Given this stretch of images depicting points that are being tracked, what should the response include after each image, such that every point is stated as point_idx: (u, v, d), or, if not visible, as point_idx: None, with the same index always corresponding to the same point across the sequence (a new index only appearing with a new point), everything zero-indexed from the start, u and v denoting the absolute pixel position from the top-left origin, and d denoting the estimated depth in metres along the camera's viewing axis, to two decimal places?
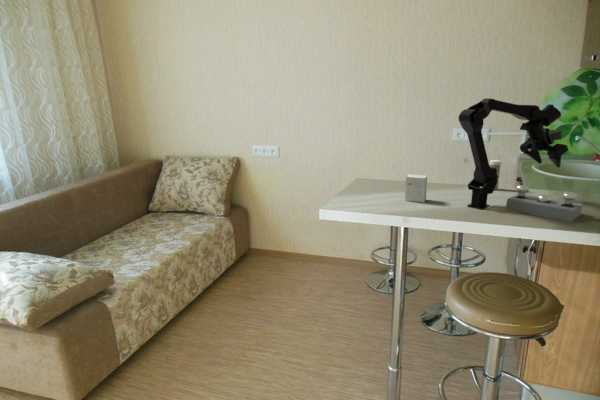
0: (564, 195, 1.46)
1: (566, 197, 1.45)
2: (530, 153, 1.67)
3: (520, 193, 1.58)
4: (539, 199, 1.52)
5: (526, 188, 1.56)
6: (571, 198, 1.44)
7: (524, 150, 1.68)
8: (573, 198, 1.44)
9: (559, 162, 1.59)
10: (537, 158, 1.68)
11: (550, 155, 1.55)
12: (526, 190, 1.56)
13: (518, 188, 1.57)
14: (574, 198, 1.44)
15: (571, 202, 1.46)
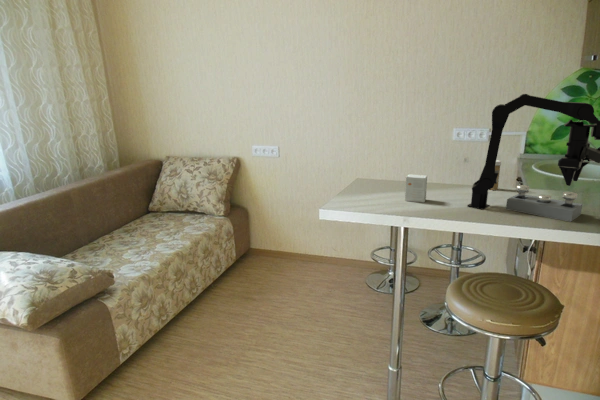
0: (564, 195, 1.46)
1: (566, 197, 1.45)
2: None
3: (520, 193, 1.58)
4: (539, 199, 1.52)
5: (526, 188, 1.56)
6: (571, 198, 1.44)
7: None
8: (573, 198, 1.44)
9: (569, 179, 1.41)
10: (575, 173, 1.48)
11: None
12: (526, 190, 1.56)
13: (518, 188, 1.57)
14: (574, 198, 1.44)
15: (571, 202, 1.46)
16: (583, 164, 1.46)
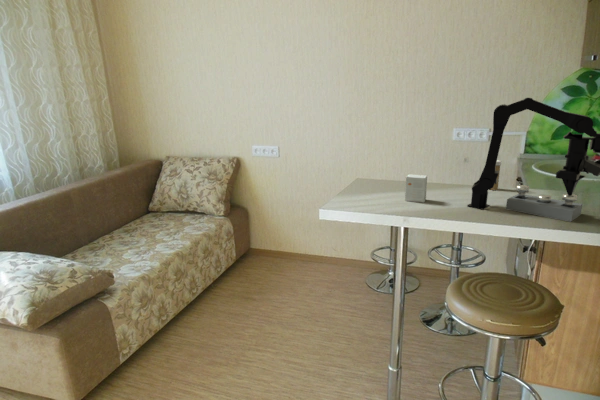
0: (564, 197, 1.46)
1: (566, 199, 1.46)
2: None
3: (520, 193, 1.58)
4: (539, 199, 1.52)
5: (526, 188, 1.56)
6: (571, 200, 1.45)
7: None
8: (573, 200, 1.45)
9: (571, 189, 1.45)
10: None
11: None
12: (526, 190, 1.56)
13: (518, 188, 1.57)
14: (574, 200, 1.45)
15: (571, 204, 1.46)
16: None
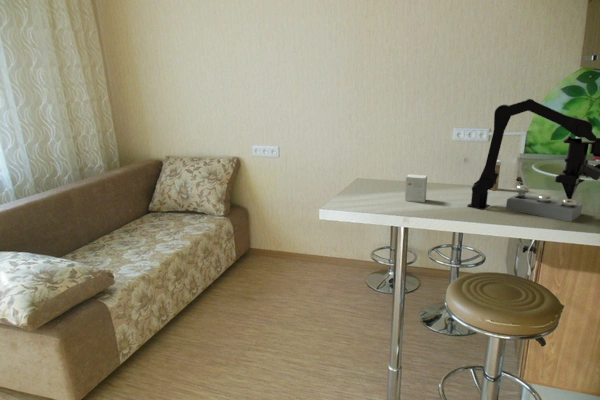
0: (563, 202, 1.47)
1: (565, 204, 1.46)
2: None
3: (520, 193, 1.58)
4: (539, 199, 1.52)
5: (526, 188, 1.56)
6: (570, 205, 1.45)
7: None
8: (572, 205, 1.45)
9: (570, 193, 1.45)
10: None
11: None
12: (526, 190, 1.56)
13: (518, 188, 1.57)
14: (573, 205, 1.45)
15: None
16: (578, 182, 1.44)
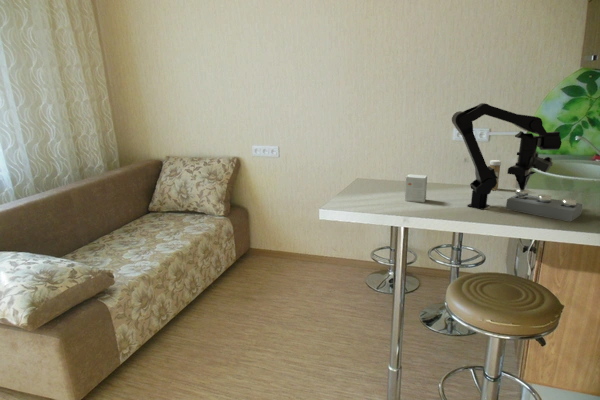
0: (563, 202, 1.47)
1: (565, 204, 1.46)
2: None
3: (520, 196, 1.58)
4: (539, 199, 1.52)
5: (526, 192, 1.56)
6: (570, 205, 1.45)
7: None
8: (572, 205, 1.45)
9: (522, 184, 1.56)
10: None
11: None
12: (526, 194, 1.56)
13: (518, 192, 1.57)
14: (573, 205, 1.45)
15: None
16: None
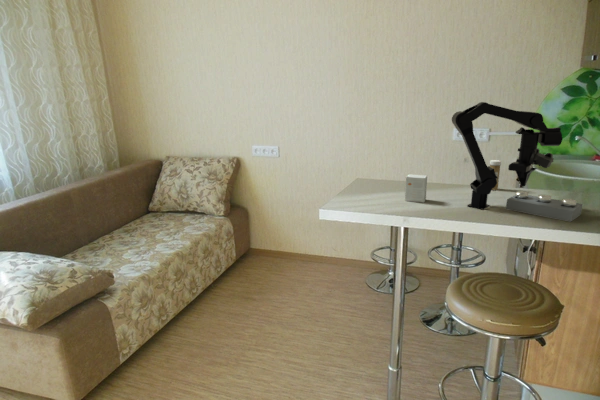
0: (563, 202, 1.47)
1: (565, 204, 1.46)
2: None
3: None
4: (539, 199, 1.52)
5: (525, 195, 1.56)
6: (570, 205, 1.45)
7: None
8: (572, 205, 1.45)
9: (523, 180, 1.56)
10: None
11: None
12: (525, 197, 1.56)
13: (517, 194, 1.58)
14: (573, 205, 1.45)
15: None
16: None
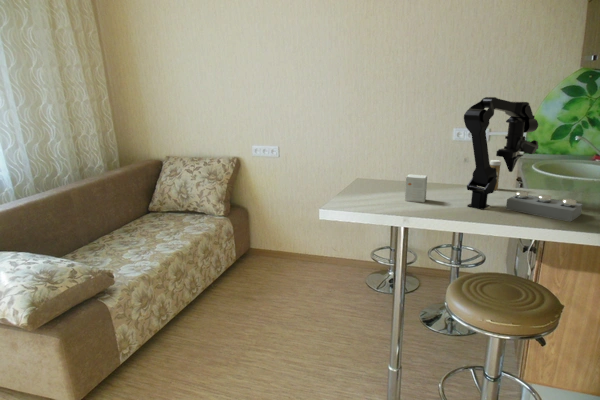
0: (563, 202, 1.47)
1: (565, 204, 1.46)
2: None
3: None
4: (539, 199, 1.52)
5: (525, 195, 1.56)
6: (570, 205, 1.45)
7: None
8: (572, 205, 1.45)
9: (511, 166, 1.66)
10: None
11: None
12: (525, 197, 1.56)
13: (517, 194, 1.58)
14: (573, 205, 1.45)
15: None
16: None
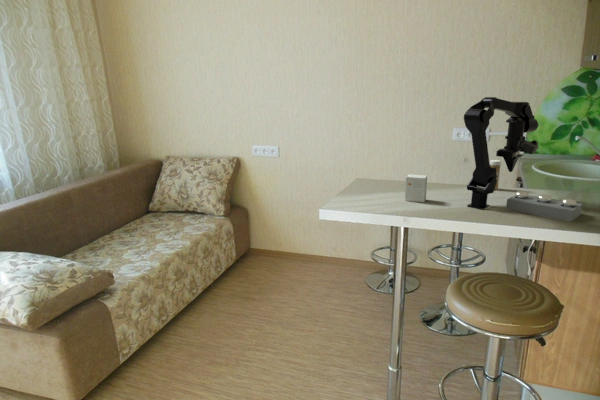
0: (563, 202, 1.47)
1: (565, 204, 1.46)
2: None
3: None
4: (539, 199, 1.52)
5: (525, 195, 1.56)
6: (570, 205, 1.45)
7: None
8: (572, 205, 1.45)
9: (511, 166, 1.66)
10: None
11: None
12: (525, 197, 1.56)
13: (517, 194, 1.58)
14: (573, 205, 1.45)
15: None
16: None
